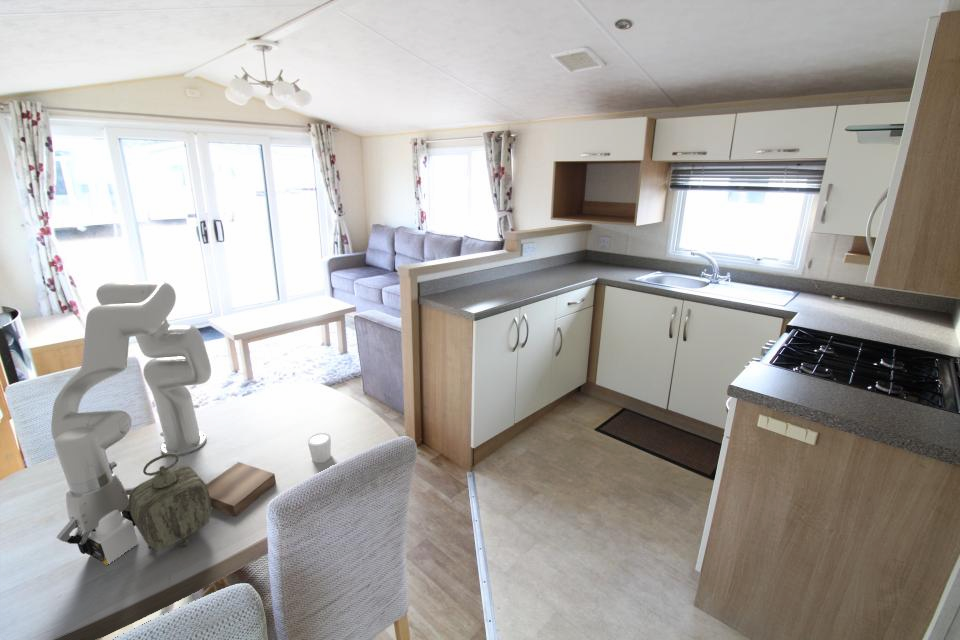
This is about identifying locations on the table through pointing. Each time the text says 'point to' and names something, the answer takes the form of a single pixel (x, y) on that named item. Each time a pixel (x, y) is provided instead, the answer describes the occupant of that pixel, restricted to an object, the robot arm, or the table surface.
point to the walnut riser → (239, 488)
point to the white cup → (320, 447)
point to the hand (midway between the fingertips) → (110, 538)
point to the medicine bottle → (112, 537)
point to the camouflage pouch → (169, 505)
